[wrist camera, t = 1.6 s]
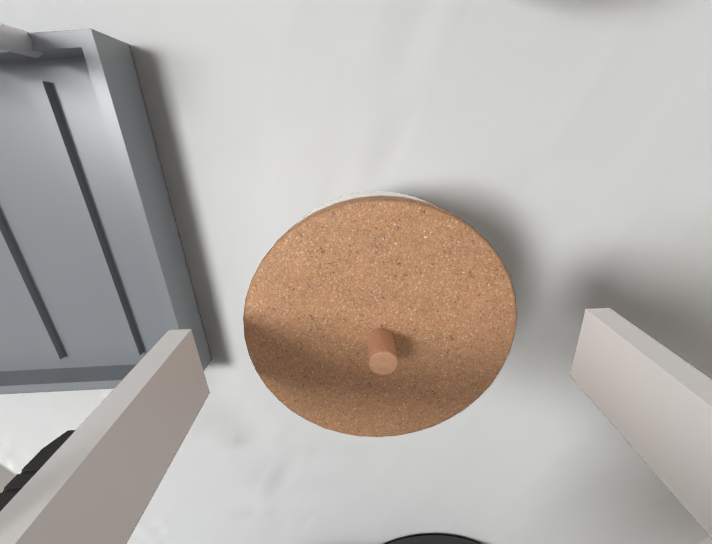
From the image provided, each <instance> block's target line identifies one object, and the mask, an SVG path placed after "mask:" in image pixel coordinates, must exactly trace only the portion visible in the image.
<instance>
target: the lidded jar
mask: <svg viewBox="0 0 712 544" xmlns="http://www.w3.org/2000/svg"><path fill="white" fill-rule="evenodd" d="M516 317H517V311H516V299H515V293H514V290H513V286H512V282H511V279H510V276H509V274H508V272H507V270H506V268H505V266H504V264H503V262H502V260H501V258H500V257H499V255H498V254H497V253H496V251H495V250H494V249H493V247H492V246H491V245H490V243H489V242H488V241H487V240H486V239H485V238H483V237H482V236H481V235H480V234H479V233H478V232H477V231H476V230H475V229H474V228H473V227H471V226H470V225H469V224H467V223H466V222H464V221H463V220H461V219H460V218H458V217H456V216H455V215H453V214H452V213H450V212H449V211H446V210H444V209H442V208H439V207H437V206H435V205H434V204H432V203H429V202H427V201H424V200H422V199H420V198H417V197H414V196H410V195H406V194H402V193H397V192H389V191H366V192H357V193H353V194H349V195H345V196H341V197H338V198H336V199H334V200H332V201H329V202H327V203H325V204H323V205H320V206H319V207H317V208H316V209H314V210H313V211H311V212H310V213H308V214H307V215H305V216H304V217H303V218H302V219H301V220H299V221H298V222H297V223H296V224H295V225H294V226H293V227H292V228H290V229H289V230H288V231H287V232H286V233H285V234H284V235H283V236H282V237H281V238H279V239H278V240H277V242H276V243H275V244H274V246H273V247H272V248H271V249H270V251H269V252H268V253H267V255H266V256H265V257H264V258H263V260H262V261H261V263H260V265H259V267H258V269H257V271H256V273H255V275H254V276H253V278H252V280H251V283H250V287H249V290H248V293H247V296H246V300H245V308H244V317H243V321H244V336H245V341H246V345H247V349H248V353H249V356H250V358H251V360H252V363H253V365H254V367H255V369H256V371H257V373H258V374H259V376H260V377H261V379H262V380H263V382H264V384H265V385H266V387H267V388H268V389H269V390H270V391H271V392H272V393H273V394H274V395H275V396H276V397H277V399H278V400H279V401H281V402H282V403H283V404H284V405H285V406H287V407H288V408H289V409H290V410H291V411H293V412H294V413H296V414H298V415H299V416H301V417H303V418H304V419H306V420H308V421H310V422H312V423H314V424H316V425H319V426H321V427H323V428H326V429H329V430H333V431H337V432H340V433H345V434H350V435H356V436H368V437H384V436H398V435H403V434H407V433H412V432H416V431H420V430H423V429H426V428H429V427H433V426H435V425H437V424H439V423H441V422H443V421H445V420H447V419H449V418H451V417H453V416H454V415H456V414H458V413H459V412H461V411H463V410H464V409H466V408H467V407H468V406H469V405H470V404H472V403H473V402H474V401H475V400H476V399H477V398H479V397H480V396H481V395H482V393H483V392H484V391H485V390H486V389H487V388H488V387H489V386H490V385H491V384H492V382H493V381H494V379H495V378H496V376H497V375H498V373H499V372H500V370H501V369H502V367H503V365H504V362H505V360H506V358H507V356H508V354H509V352H510V349H511V345H512V342H513V338H514V335H515V327H516Z"/></svg>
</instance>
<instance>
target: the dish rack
mask: <svg viewBox="0 0 712 544" xmlns="http://www.w3.org/2000/svg"><path fill="white" fill-rule="evenodd" d="M181 329H191V330H192V334H193V337H194V341H195V344H196V347H197V351H198V354H199V358H200V361H201V365H202V368H203V371H204V370H205V368H206V367H207V365H208V364H209V362H210V360H211V355H210V352H209V348H208V344H207V340H206V336H205V332H204V329H203V325H202V321H201V317H200V313H199V310H198V306H197V302H196V298H195V294H194V290H193V287H192V283H191V279H190V275H189V271H188V268H187V264H186V260H185V256H184V252H183V249H182V245H181V241H180V237H179V233H178V229H177V226H176V222H175V218H174V214H173V210H172V207H171V203H170V199H169V195H168V191H167V187H166V184H165V180H164V176H163V172H162V168H161V165H160V161H159V157H158V153H157V149H156V145H155V142H154V138H153V134H152V130H151V126H150V123H149V119H148V115H147V111H146V107H145V104H144V100H143V96H142V92H141V88H140V84H139V81H138V77H137V73H136V69H135V65H134V62H133V58H132V54H131V50H130V46H129V44H127V43H124V42H122V41H119V40H117V39H115V38H112V37H110V36H107V35H105V34H102V33H100V32H98V31H95V30H93V29H80V30H66V31H51V32H36V33H29V32H26V31H23V30H20V29H16V28H13V27H10V26H7V25H4V24H1V23H0V394H15V393H35V392H54V391H74V390H93V389H113V388H115V387H116V386H117V385H118V384H119V383H120V382H121V381H122V380H123V379H124V378H125V377H126V376H127V375H128V373H129V372H130V371H131V370H132V369H133V368H134V367H135V366H136V365H137V364H138V363H139V362H140V360H141V359H142V358H143V357H144V356H145V355H146V354H147V353H148V352H149V351H150V350H151V349H152V348H153V346H154V345H155V344H156V343H157V342H158V341H159V340H160V339H161V338H162V337H163V336H164V335H165V334H166V332H167V331H168V330H181Z"/></svg>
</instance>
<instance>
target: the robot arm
mask: <svg viewBox="0 0 712 544" xmlns="http://www.w3.org/2000/svg"><path fill="white" fill-rule="evenodd" d="M570 377H571V378H572V379H573V380H574V381H575V383H576V384H577V385H578V386H579V387H580V388H581V389H582V391H583V392H584V393H585V394H586V395H587V396H588V397H589V399H590V400H591V401H592V402H593V403H594V404H595V405H596V407H597V408H598V409H599V410H600V411H601V412H602V414H603V415H604V416H605V417H606V418H607V419H608V420H609V422H610V423H611V424H612V425H613V426H614V427H615V428H616V430H617V431H618V432H619V433H620V434H621V435H622V436H623V438H624V439H625V440H626V441H627V442H628V443H629V445H630V446H631V447H632V448H633V449H634V450H635V451H636V453H637V454H638V455H639V456H640V457H641V458H642V459H643V461H644V462H645V463H646V464H647V465H648V466H649V467H650V469H651V470H652V471H653V472H654V473H655V474H656V476H657V477H658V478H659V479H660V480H661V481H662V482H663V484H664V485H665V486H666V487H667V488H668V489H669V490H670V492H671V493H672V494H673V495H674V496H675V497H676V498H677V500H678V501H679V502H680V503H681V504H682V505H683V507H684V508H685V509H686V510H687V511H688V512H689V513H690V515H691V516H692V517H693V518H694V519H695V520H696V521H697V523H698V524H699V525H700V526H701V527H702V528H703V529H704V531H705V532H706V533H707V534H708V535H709V536H710V538H711V539H712V379H710V378H709V377H707V376H706V375H704V374H703V373H702V372H700V371H699V370H697V369H696V368H695V367H693V366H692V365H690V364H689V363H687V362H686V361H685V360H683V359H682V358H680V357H679V356H677V355H676V354H675V353H673V352H672V351H670V350H669V349H667V348H666V347H665V346H663V345H662V344H660V343H659V342H657V341H656V340H655V339H653V338H652V337H650V336H649V335H647V334H646V333H645V332H643V331H642V330H640V329H639V328H637V327H636V326H635V325H633V324H632V323H630V322H629V321H627V320H626V319H625V318H623V317H622V316H620V315H619V314H618V313H616V312H615V311H613V310H612V309H610V308H594V309H586V310H585V314H584V318H583V322H582V326H581V331H580V335H579V339H578V343H577V347H576V352H575V356H574V360H573V364H572V368H571V373H570ZM209 393H210V392H209V389H208V385H207V382H206V378H205V375H204V372H203V368H202V365H201V361H200V358H199V354H198V351H197V347H196V344H195V341H194V337H193V334H192V330H191V329H181V330H168V331H167V332H166V334H165V335H164V336H163V337H162V338H161V339H160V340H159V341H158V342H157V343H156V344H155V345H154V346H153V348H152V349H151V350H150V351H149V352H148V353H147V354H146V355H145V356H144V357H143V358H142V359H141V360H140V362H139V363H138V364H137V365H136V366H135V367H134V368H133V369H132V370H131V371H130V372H129V373H128V375H127V376H126V377H125V378H124V379H123V380H122V381H121V382H120V383H119V384H118V385H117V386H116V387H115V389H114V390H113V391H112V392H111V393H110V394H109V395H108V396H107V397H106V398H105V399H104V400H103V401H102V403H101V404H100V405H99V406H98V407H97V408H96V409H95V410H94V411H93V412H92V413H91V414H90V415H89V417H88V418H87V419H86V420H85V421H84V422H83V423H82V424H81V425H80V426H79V427H78V428H77V429H76V430H70V431H67V432H65V433H64V434H62V435H61V436H60V437H58V438H57V439H55V440H54V441H53V442H51V443H50V444H48V445H47V446H46V447H44V448H43V449H42V450H41V451H40V452H39V453H38V454H37V455H36V456H35V457H34V458H33V459H32V460H31V461H30V462H29V463H28V464H27V465H26V466H25V467H24V468H23V469H22V472H21V474H17V475H16V476H15V477H14V478H13V479H12V480H11V481H10V482H9V483H8V484H7V486H6V487H5V488H4V491H3V492H2V493H0V544H127V542H128V540H129V538H130V536H131V535H132V533H133V531H134V529H135V527H136V526H137V524H138V522H139V520H140V518H141V516H142V515H143V513H144V511H145V509H146V507H147V506H148V504H149V502H150V500H151V498H152V497H153V495H154V493H155V491H156V489H157V487H158V486H159V484H160V482H161V480H162V478H163V477H164V475H165V473H166V471H167V469H168V467H169V466H170V464H171V462H172V460H173V458H174V457H175V455H176V453H177V451H178V449H179V448H180V446H181V444H182V442H183V440H184V438H185V437H186V435H187V433H188V431H189V429H190V428H191V426H192V424H193V422H194V420H195V419H196V417H197V415H198V413H199V411H200V409H201V408H202V406H203V404H204V402H205V400H206V399H207V397H208V395H209ZM388 544H478V543H476V542H473V541H470V540H467V539H463V538H458V537H452V536H443V535H426V536H415V537H409V538H405V539H400V540H397V541H394V542H391V543H388Z"/></svg>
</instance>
